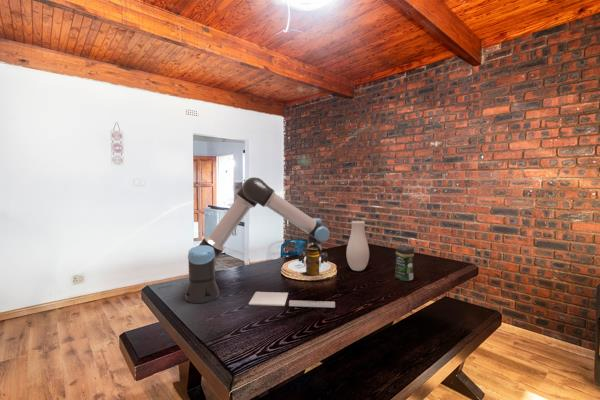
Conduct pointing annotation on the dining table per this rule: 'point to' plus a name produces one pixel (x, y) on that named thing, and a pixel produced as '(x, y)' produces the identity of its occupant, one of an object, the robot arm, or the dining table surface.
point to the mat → (269, 298)
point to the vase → (357, 247)
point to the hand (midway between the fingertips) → (312, 263)
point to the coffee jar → (404, 263)
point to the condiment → (312, 263)
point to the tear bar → (311, 303)
